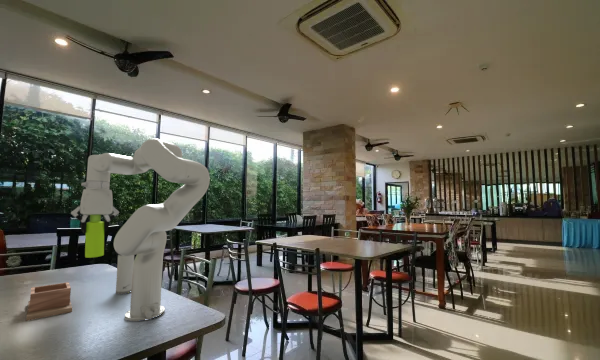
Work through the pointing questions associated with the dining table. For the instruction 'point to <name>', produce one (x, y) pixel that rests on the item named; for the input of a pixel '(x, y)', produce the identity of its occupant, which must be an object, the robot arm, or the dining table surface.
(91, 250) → the soap dispenser
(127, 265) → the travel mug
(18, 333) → the dining table surface
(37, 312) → the socket caddy
